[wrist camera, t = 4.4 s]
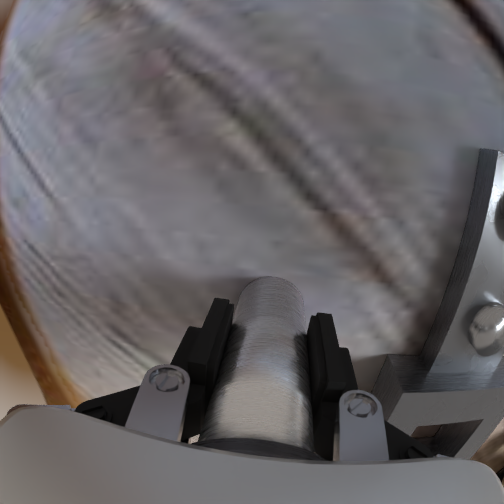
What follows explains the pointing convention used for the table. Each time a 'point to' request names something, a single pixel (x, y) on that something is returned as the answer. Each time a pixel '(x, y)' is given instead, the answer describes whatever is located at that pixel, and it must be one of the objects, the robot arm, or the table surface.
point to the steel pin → (264, 378)
